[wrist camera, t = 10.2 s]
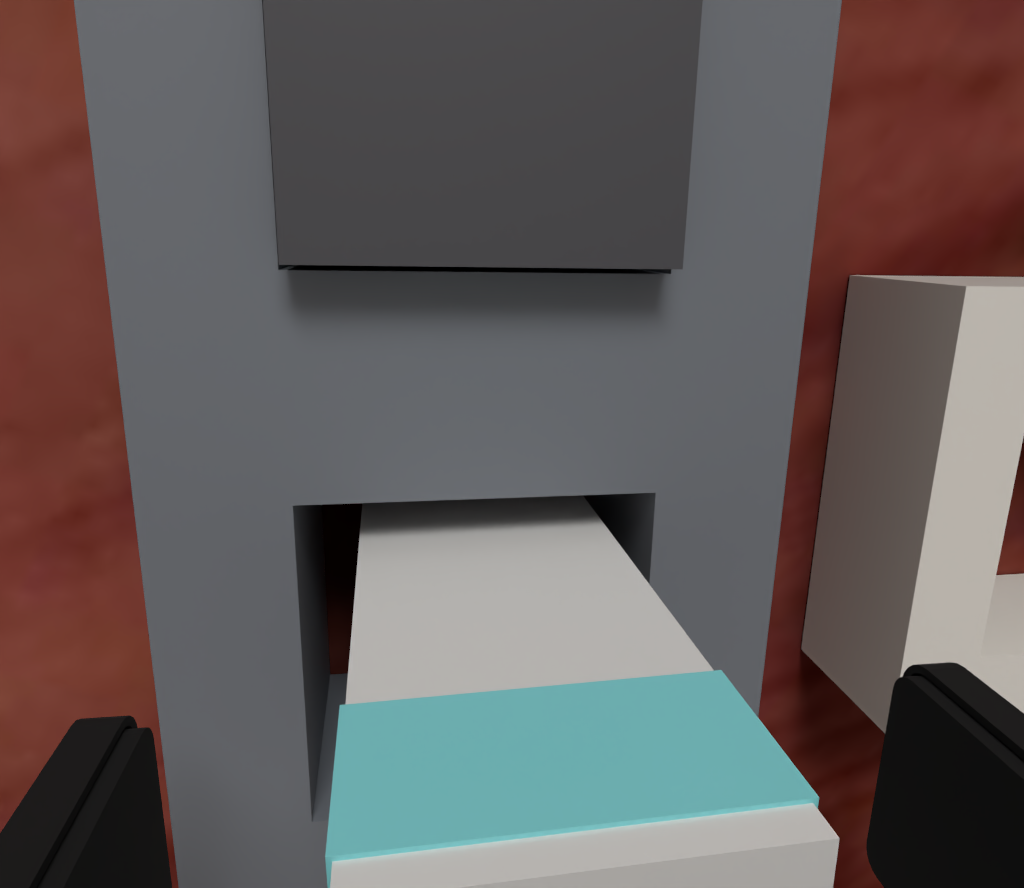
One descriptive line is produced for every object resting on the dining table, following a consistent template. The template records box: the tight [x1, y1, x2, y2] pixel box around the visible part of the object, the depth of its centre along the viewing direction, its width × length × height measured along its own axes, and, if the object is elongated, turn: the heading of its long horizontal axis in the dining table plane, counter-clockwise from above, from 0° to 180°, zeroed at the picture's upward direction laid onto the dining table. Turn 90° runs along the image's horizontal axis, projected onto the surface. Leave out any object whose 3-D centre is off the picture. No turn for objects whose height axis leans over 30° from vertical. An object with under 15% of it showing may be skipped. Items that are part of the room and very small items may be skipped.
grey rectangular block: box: [74, 0, 842, 888], centre depth 13 cm, size 10×19×5 cm, turn 0°
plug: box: [325, 495, 839, 888], centre depth 12 cm, size 4×4×11 cm
